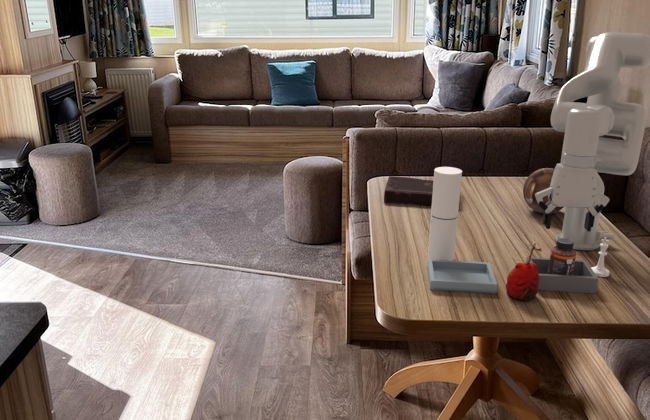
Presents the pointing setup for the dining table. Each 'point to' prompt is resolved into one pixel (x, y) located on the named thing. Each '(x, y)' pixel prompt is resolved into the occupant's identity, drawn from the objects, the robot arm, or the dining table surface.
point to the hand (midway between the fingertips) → (566, 228)
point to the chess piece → (601, 261)
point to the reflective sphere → (538, 188)
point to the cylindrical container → (444, 213)
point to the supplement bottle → (562, 258)
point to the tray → (461, 276)
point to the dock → (566, 277)
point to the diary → (408, 191)
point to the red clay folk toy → (523, 280)
